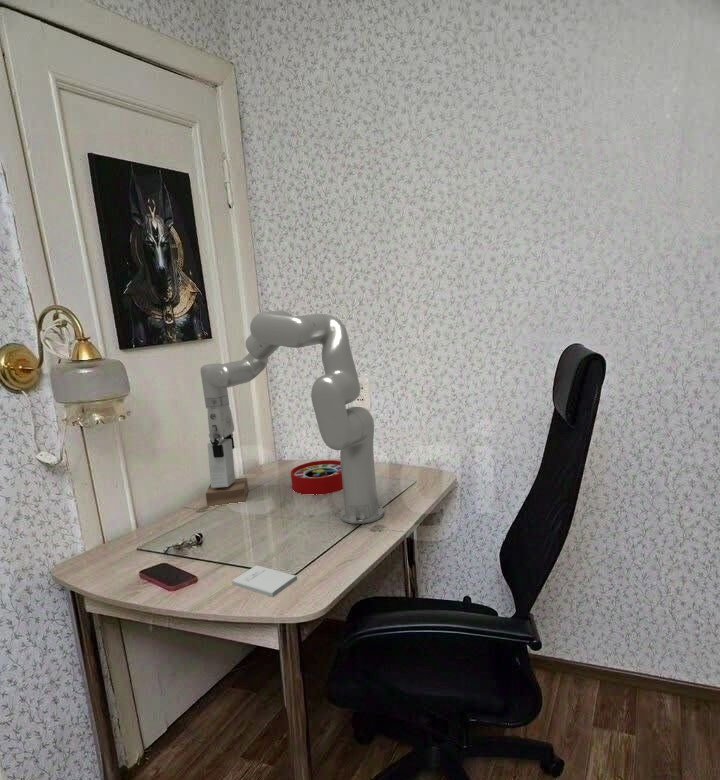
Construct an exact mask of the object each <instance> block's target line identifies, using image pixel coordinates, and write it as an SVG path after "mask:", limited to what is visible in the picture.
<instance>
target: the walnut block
mask: <svg viewBox="0 0 720 780" xmlns="http://www.w3.org/2000/svg"><path fill="white" fill-rule="evenodd" d="M247 493H249V485H248V478H247V477H242V478H241V477H240V478H235V482H233V483H232V484H231V485H230V486H228V487H217V488H211V483H210V484H209V486H208V488H207V490H206V493H205V497H206V506H207V508H210V507H209V506H213V507H216V506H215V505H221V506H223V505H222V504H229V503H237V504H239V503H238V502H245V501H247V498H248V494H247ZM246 497H247V498H246ZM245 503H246V502H245ZM229 505H230V504H229Z"/></svg>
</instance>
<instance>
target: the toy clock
mask: <svg viewBox="0 0 720 780" xmlns="http://www.w3.org/2000/svg"><path fill="white" fill-rule="evenodd" d="M290 478H291V479H290V480H291V481H290V482H291V488H292V491H293V490H294V491H295V493H296V492H297V493H296V494H299V493H301V494H300V495H303V494H314V495H313V496H319V495H318V494H323V495H329V494H333V492H334V493H336V492H340V491H343V484H342V474H341V462H340V460H334V459H333V460H332V459H330V460H329V459H327V460H326V459H325V460H324V459H323V460H316V461H309V462H306V463H302V464H300V465H297V466H295V467H293V468H292V469H291V470H290ZM294 491H293V492H294ZM328 493H329V494H328ZM316 494H317V495H316Z"/></svg>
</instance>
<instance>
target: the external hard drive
mask: <svg viewBox="0 0 720 780" xmlns="http://www.w3.org/2000/svg"><path fill="white" fill-rule="evenodd" d="M297 580H298V577H297V575H295V574H291V573H287V572H283V571H279V570H277V569H272V568H269V567H265V566H260V565H257V564H256V565H254V566H253V567H251V568H250V569H248V570H246V571H245V572H243V573H242V574H240V575H238V576H237V577H235V578H234V579H232V581H231V583H232V585H233V586H237V587H239V588H243V589H246V590H249V591H252V592H254V593H255V592H256V593H258V592H259V593H258V594H262V595H265V596H269V597H272V598H274V597H275V596H276V595H277V594H279V593H281V592H282V591H283V590H284V589H286V588H287V587H288V586H289V587H290V585H292V584H293V583H295V581H297Z"/></svg>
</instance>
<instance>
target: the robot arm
mask: <svg viewBox="0 0 720 780" xmlns="http://www.w3.org/2000/svg"><path fill="white" fill-rule="evenodd" d="M249 329H250V335H248V337H247V338H246V340H245V348H246V350H247V351H248V353H247V354H246V355H245V356H244V357H242V359H241V360H235V361H231V362H230V361H229V362H226V363H209V364H208V363H207V364H204V365H202V366H201V367H200V376H201V384H202V391H203V397H204V402H205V404H204V406H205V409H207V425H208V431H209V433H208V437H209V441H210V442H211V445H212V448H213V455H214V458H218V457H223V456H224V453H223V446H222V445H221V440H222V439H232V449H233V450H234V449H235V448H236V447H235V442H234V441H235V440H234V437H233V436H234V432H235V426H234V420H233V415H232V410H231V407H230V398H229V392H228V388H232V387H236V386H238V385H243V384H247V383H249V382H251V381H252V380H254V379H255V378H257V376H259V375H260V374H261V373H262V371H264V369H265V368H266V367H267V365H268V362H269V358H270V356H271V355H273V354H274V353H275V352H276V351H277V350H278V349H279V348H280V347H285V348H293V349H294V348H295V349H299V348H305V347H309V346H314V345H321V346H322V347H321V362H322V365H323V369H324V375H320V376H319V377H318V378H317V379H316V380H315V381H313V383H312V387H311V393H310V395H311V402H312V407H313V410H314V415H315V419H316V423H317V427H318V429H319V434H320V436H321V439H322V441H323V442H324V444H325V445H326V446H327V447H328V448H330V449H331V450H335V451H340V452H339V461H340V462H341V474H342V484H343V489H342V493H343V503H344V508H343V509H342V510H341V511H340V513H339V518H340V520H341V521H343V522H345V523H346V524H347V523H348V524H353V525H354V524H356V525H359V524H360V525H361V524H362V525H363V524H368V523H373V522H376V521H378V520H380V519H381V518H382V517H384V515H385V514H384V513H385V510H384V508H383V507H382V506H381V505H378V494H377V493H378V492H377V483H376V482H377V481H376V471H375V456H374V438H375V437H374V435H375V422H374V419H373V416H372V414H371V413H370V412H369V411H368V409H366V408H364V407H361V406H352V407H348V408H346V405H349V404H351V403H353V402H354V401H356V400H357V399H358V398H359V397H360V394H361V384H360V380H359V377H358V373H357V369H356V364H355V360H354V357H353V355H352V349H351V344H350V338H349V335H348V331H347V329H346V327H345V325H344V324H343V322H342V321H341V320H340V319H339V318H337V317H335V316H333V315H331V314H326V313H312V314H303V315H297V316H293V315H292V314H291V313H290V312H288V311H286V310H270V311H261V312H259V313H257V314H255V316H254V317H253V318H252V319H251V322H250V325H249ZM217 439H218V440H217ZM210 442H209V443H210Z"/></svg>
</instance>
